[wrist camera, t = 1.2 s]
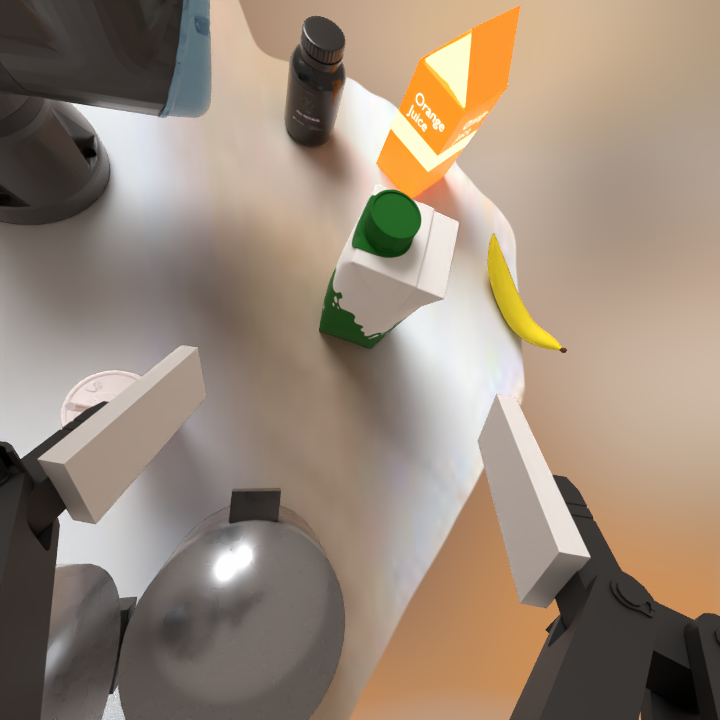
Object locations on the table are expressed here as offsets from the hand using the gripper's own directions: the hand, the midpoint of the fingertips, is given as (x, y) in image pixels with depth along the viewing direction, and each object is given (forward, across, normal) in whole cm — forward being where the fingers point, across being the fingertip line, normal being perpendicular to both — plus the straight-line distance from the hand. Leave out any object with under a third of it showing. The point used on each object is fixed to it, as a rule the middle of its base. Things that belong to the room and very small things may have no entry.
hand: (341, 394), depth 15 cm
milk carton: (+28, -3, -8) cm, 29 cm away
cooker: (+4, -8, -29) cm, 30 cm away
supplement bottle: (+45, -13, +12) cm, 48 cm away
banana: (+38, +19, -8) cm, 43 cm away
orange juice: (+48, +2, +8) cm, 48 cm away
